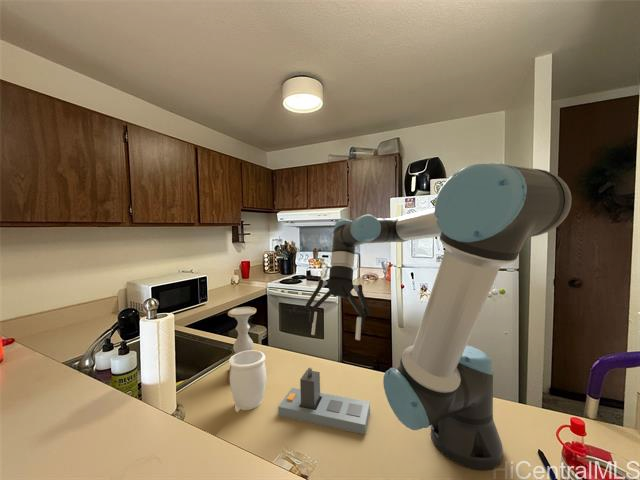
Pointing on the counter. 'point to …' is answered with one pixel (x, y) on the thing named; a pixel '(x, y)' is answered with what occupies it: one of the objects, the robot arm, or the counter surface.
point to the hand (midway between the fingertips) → (335, 337)
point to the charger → (310, 389)
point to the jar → (247, 379)
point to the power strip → (328, 411)
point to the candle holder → (242, 330)
